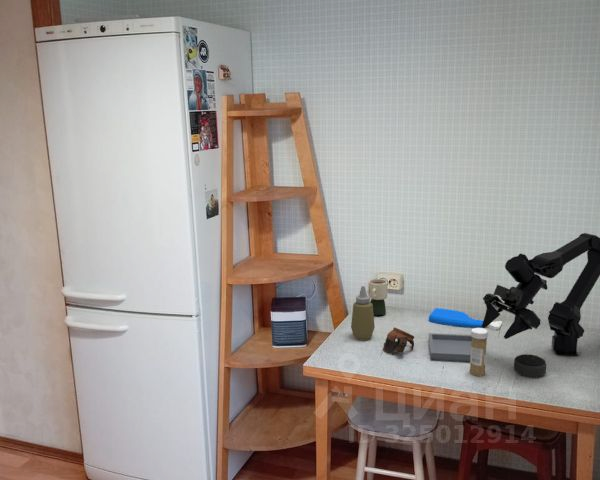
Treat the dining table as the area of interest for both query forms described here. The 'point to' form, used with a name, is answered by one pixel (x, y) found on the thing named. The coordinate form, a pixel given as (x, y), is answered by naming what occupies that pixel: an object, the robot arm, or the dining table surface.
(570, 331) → the robot arm
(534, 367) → the smart speaker
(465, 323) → the spray bottle
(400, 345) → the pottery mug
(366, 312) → the squeeze bottle
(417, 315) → the dining table surface
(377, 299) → the character mug
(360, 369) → the dining table surface
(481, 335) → the sprinkles bottle
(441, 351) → the tray
